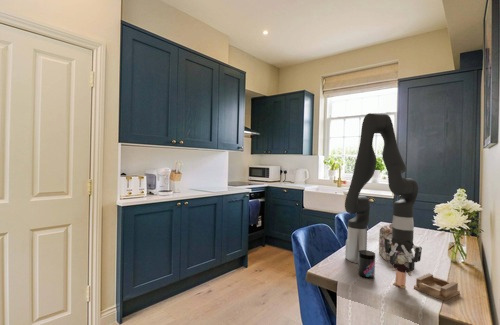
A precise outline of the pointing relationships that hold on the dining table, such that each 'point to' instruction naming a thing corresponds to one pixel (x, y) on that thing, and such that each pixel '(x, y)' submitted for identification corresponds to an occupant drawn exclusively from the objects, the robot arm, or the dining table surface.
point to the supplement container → (366, 264)
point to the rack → (436, 287)
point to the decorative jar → (384, 233)
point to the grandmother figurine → (401, 272)
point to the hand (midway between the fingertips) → (401, 267)
